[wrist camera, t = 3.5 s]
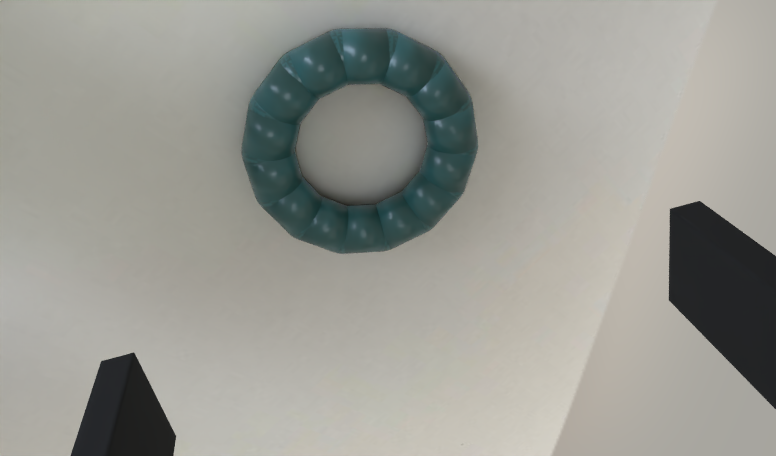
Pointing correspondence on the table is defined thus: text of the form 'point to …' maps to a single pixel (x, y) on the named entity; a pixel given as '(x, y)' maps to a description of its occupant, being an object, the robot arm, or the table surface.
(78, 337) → the table surface
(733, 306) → the robot arm
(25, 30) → the table surface
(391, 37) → the teal beaded ring
